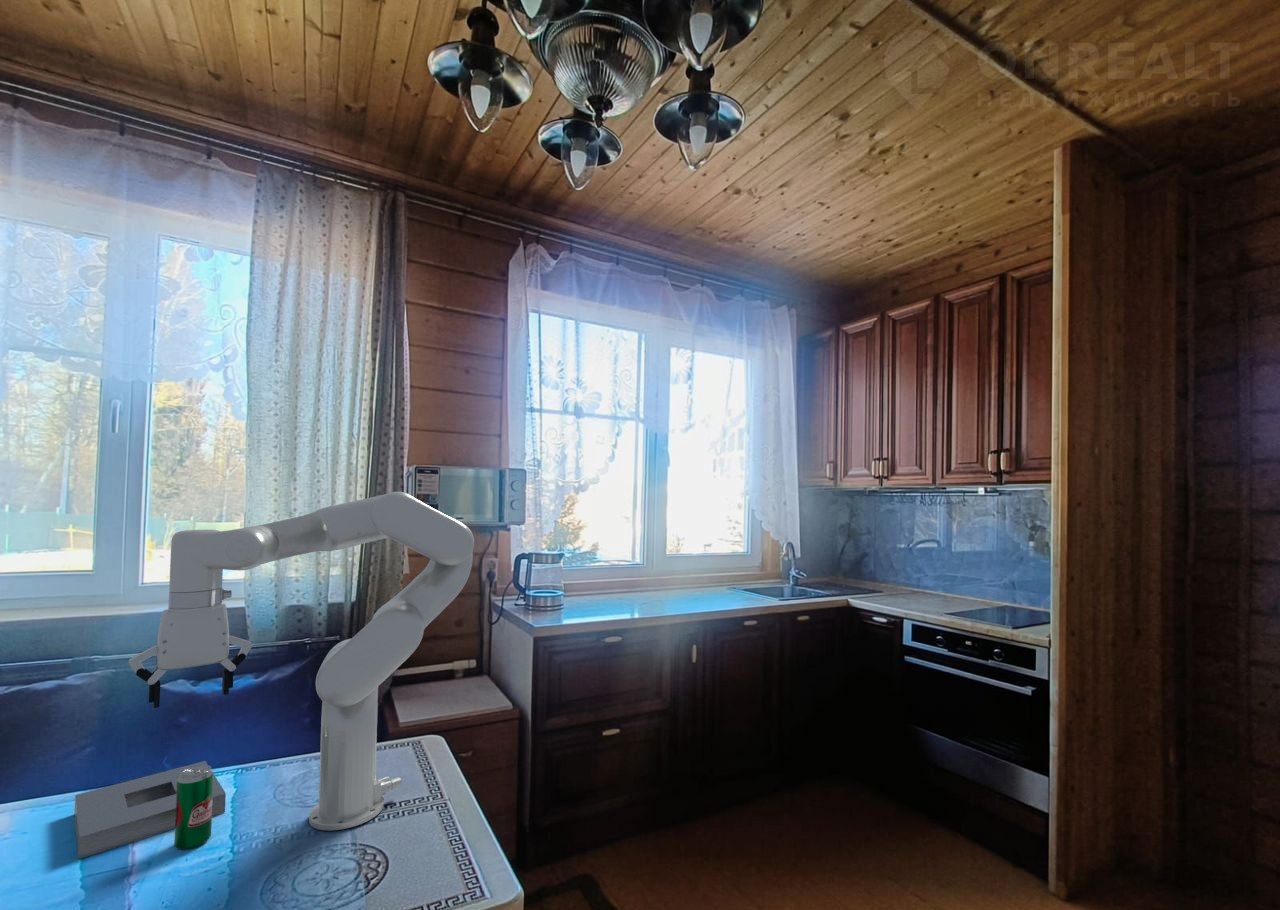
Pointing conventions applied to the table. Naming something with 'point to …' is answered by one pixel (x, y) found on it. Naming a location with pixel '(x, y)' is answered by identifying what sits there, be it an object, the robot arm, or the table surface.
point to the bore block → (132, 811)
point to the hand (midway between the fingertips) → (191, 699)
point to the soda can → (194, 807)
